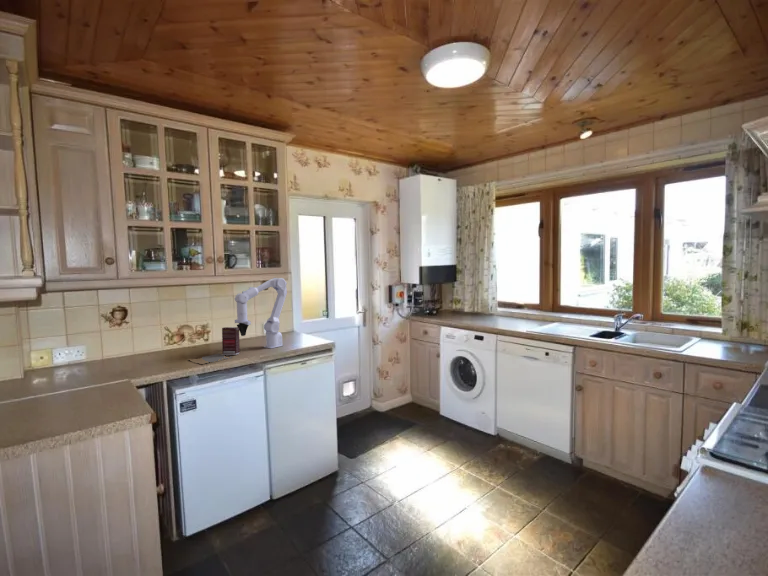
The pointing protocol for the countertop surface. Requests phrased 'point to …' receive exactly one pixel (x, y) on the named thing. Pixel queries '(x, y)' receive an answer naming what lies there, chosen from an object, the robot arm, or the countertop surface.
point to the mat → (214, 357)
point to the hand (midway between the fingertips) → (243, 335)
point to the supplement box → (230, 341)
